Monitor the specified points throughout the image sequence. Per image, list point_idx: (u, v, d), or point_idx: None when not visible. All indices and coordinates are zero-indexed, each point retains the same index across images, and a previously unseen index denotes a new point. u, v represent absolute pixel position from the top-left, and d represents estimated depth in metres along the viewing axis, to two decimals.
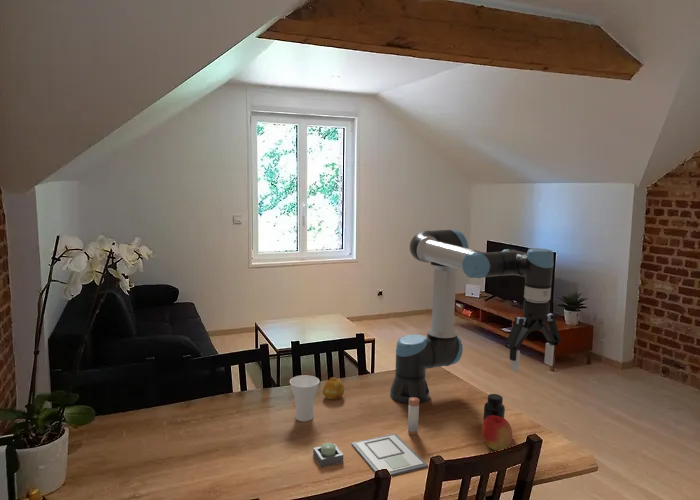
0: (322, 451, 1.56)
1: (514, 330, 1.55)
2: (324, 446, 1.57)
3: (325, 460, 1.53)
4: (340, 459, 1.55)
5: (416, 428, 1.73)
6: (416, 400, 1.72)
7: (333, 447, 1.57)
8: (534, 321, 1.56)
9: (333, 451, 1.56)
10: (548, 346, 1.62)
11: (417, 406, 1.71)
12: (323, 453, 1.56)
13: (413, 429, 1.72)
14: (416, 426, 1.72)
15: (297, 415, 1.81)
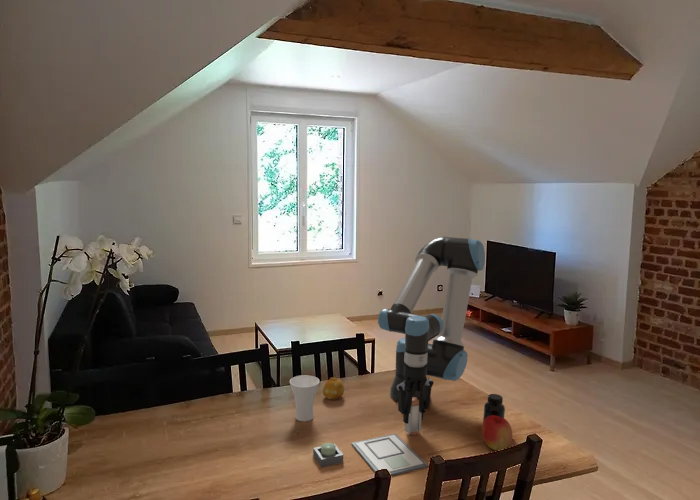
0: (322, 451, 1.56)
1: (399, 397, 1.70)
2: (324, 446, 1.57)
3: (325, 460, 1.53)
4: (340, 459, 1.55)
5: (416, 428, 1.73)
6: (416, 400, 1.72)
7: (333, 447, 1.57)
8: (412, 384, 1.69)
9: (333, 451, 1.56)
10: None
11: (417, 406, 1.71)
12: (323, 453, 1.56)
13: (413, 429, 1.72)
14: (416, 426, 1.72)
15: (297, 415, 1.81)
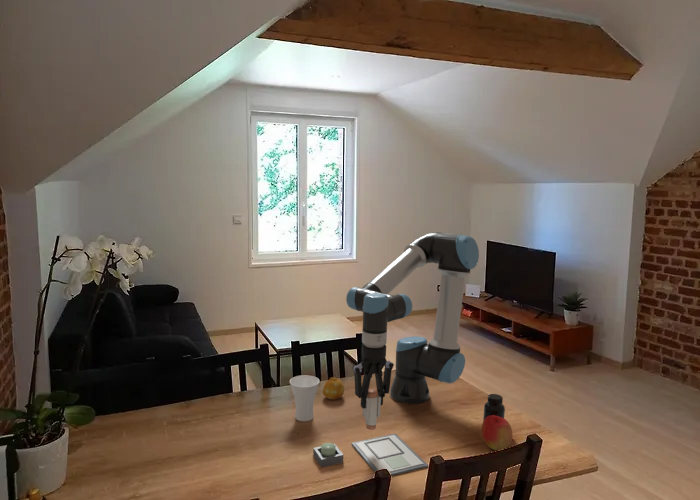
0: (322, 451, 1.56)
1: (356, 380, 1.58)
2: (324, 446, 1.57)
3: (325, 460, 1.53)
4: (340, 459, 1.55)
5: (374, 422, 1.62)
6: (374, 392, 1.61)
7: (333, 447, 1.57)
8: (370, 366, 1.58)
9: (333, 451, 1.56)
10: None
11: (375, 398, 1.61)
12: (323, 453, 1.56)
13: (371, 422, 1.61)
14: (374, 419, 1.62)
15: (297, 415, 1.81)
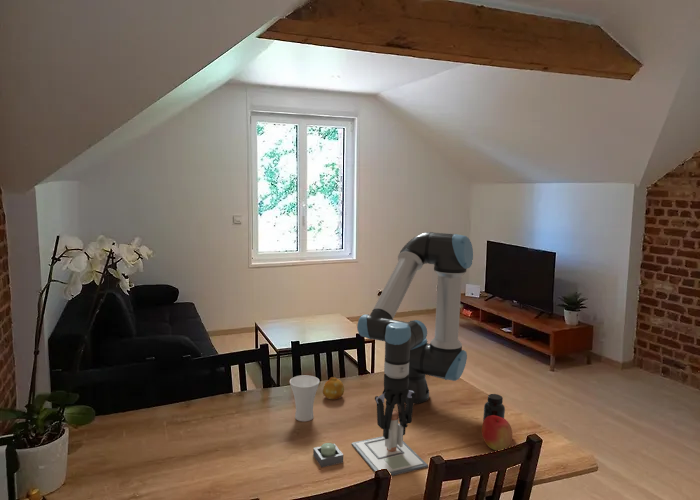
0: (322, 451, 1.56)
1: (378, 411, 1.57)
2: (324, 446, 1.57)
3: (325, 460, 1.53)
4: (340, 459, 1.55)
5: (394, 444, 1.61)
6: (394, 414, 1.60)
7: (333, 447, 1.57)
8: (392, 397, 1.56)
9: (333, 451, 1.56)
10: (398, 427, 1.61)
11: (395, 420, 1.59)
12: (323, 453, 1.56)
13: (391, 445, 1.60)
14: (394, 442, 1.61)
15: (297, 415, 1.81)
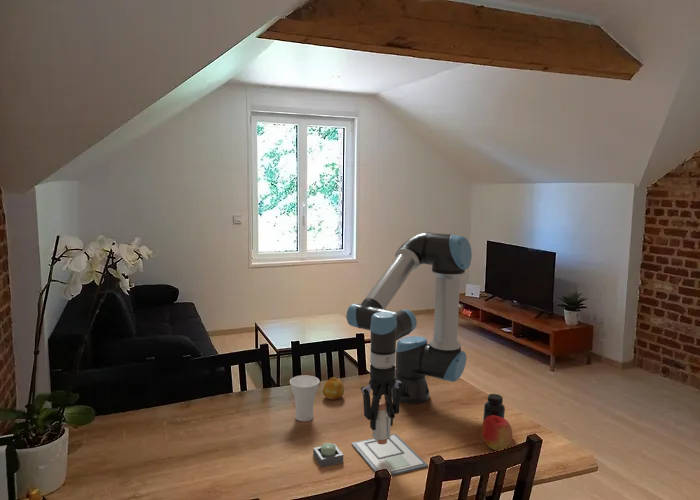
0: (322, 451, 1.56)
1: (365, 401, 1.54)
2: (324, 446, 1.57)
3: (325, 460, 1.53)
4: (340, 459, 1.55)
5: (384, 436, 1.57)
6: (382, 404, 1.57)
7: (333, 447, 1.57)
8: (379, 387, 1.54)
9: (333, 451, 1.56)
10: None
11: (383, 411, 1.56)
12: (323, 453, 1.56)
13: (381, 437, 1.57)
14: (384, 434, 1.57)
15: (297, 415, 1.81)
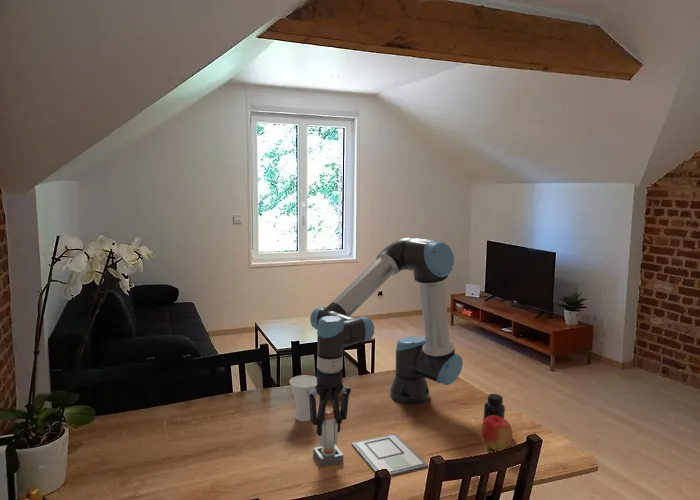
0: (322, 454, 1.56)
1: (311, 406, 1.52)
2: None
3: (325, 460, 1.53)
4: (340, 459, 1.55)
5: (331, 445, 1.55)
6: (330, 413, 1.55)
7: None
8: (325, 392, 1.52)
9: (333, 454, 1.56)
10: None
11: (330, 420, 1.54)
12: (323, 456, 1.56)
13: (327, 446, 1.55)
14: (330, 443, 1.55)
15: (297, 415, 1.81)
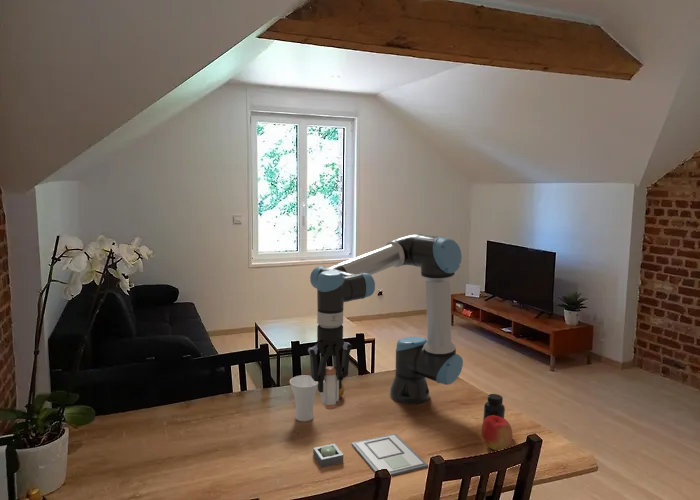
0: (322, 454, 1.56)
1: (311, 362, 1.50)
2: (324, 449, 1.57)
3: (325, 460, 1.53)
4: (340, 459, 1.55)
5: (332, 401, 1.53)
6: (331, 369, 1.52)
7: (333, 450, 1.57)
8: (326, 347, 1.50)
9: (333, 454, 1.56)
10: None
11: (332, 376, 1.52)
12: (323, 456, 1.56)
13: (329, 402, 1.53)
14: (332, 399, 1.53)
15: (297, 415, 1.81)
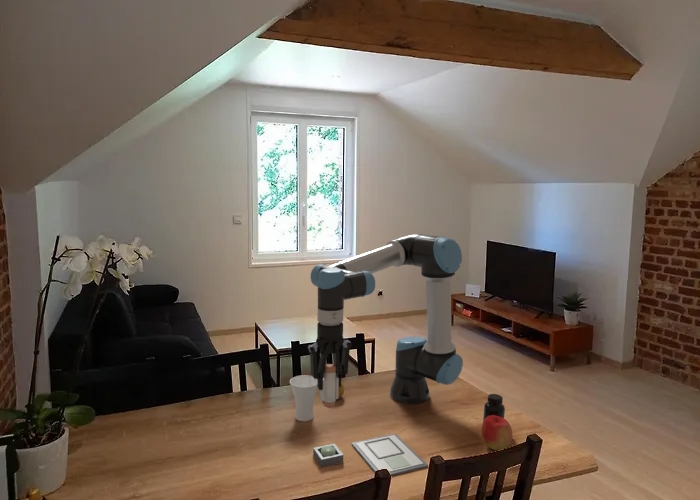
0: (322, 454, 1.56)
1: (311, 360, 1.50)
2: (324, 449, 1.57)
3: (325, 460, 1.53)
4: (340, 459, 1.55)
5: (332, 399, 1.53)
6: (331, 366, 1.52)
7: (333, 450, 1.57)
8: (326, 345, 1.50)
9: (333, 454, 1.56)
10: None
11: (332, 373, 1.52)
12: (323, 456, 1.56)
13: (328, 399, 1.52)
14: (332, 396, 1.53)
15: (297, 415, 1.81)
